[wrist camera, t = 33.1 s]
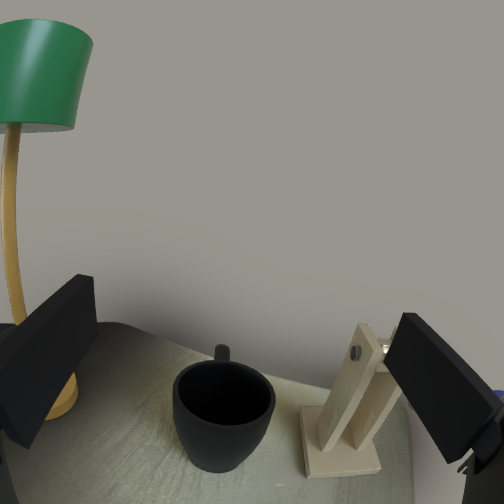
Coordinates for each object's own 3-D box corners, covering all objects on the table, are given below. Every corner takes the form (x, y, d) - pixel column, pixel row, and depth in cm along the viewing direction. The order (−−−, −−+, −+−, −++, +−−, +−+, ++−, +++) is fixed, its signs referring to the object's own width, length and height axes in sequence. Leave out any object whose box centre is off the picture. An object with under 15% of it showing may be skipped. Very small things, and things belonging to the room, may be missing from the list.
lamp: (83, 433, 21) (80, 11, 11) (-10, 417, 16) (-43, 36, 6) (90, 362, 32) (101, 60, 22) (14, 354, 27) (8, 66, 17)
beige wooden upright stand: (377, 473, 21) (450, 371, 17) (306, 478, 21) (367, 372, 17) (357, 413, 31) (403, 314, 27) (298, 412, 31) (335, 307, 27)
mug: (251, 403, 31) (266, 341, 29) (258, 486, 20) (282, 432, 17) (183, 395, 31) (186, 331, 28) (169, 478, 19) (164, 420, 17)
